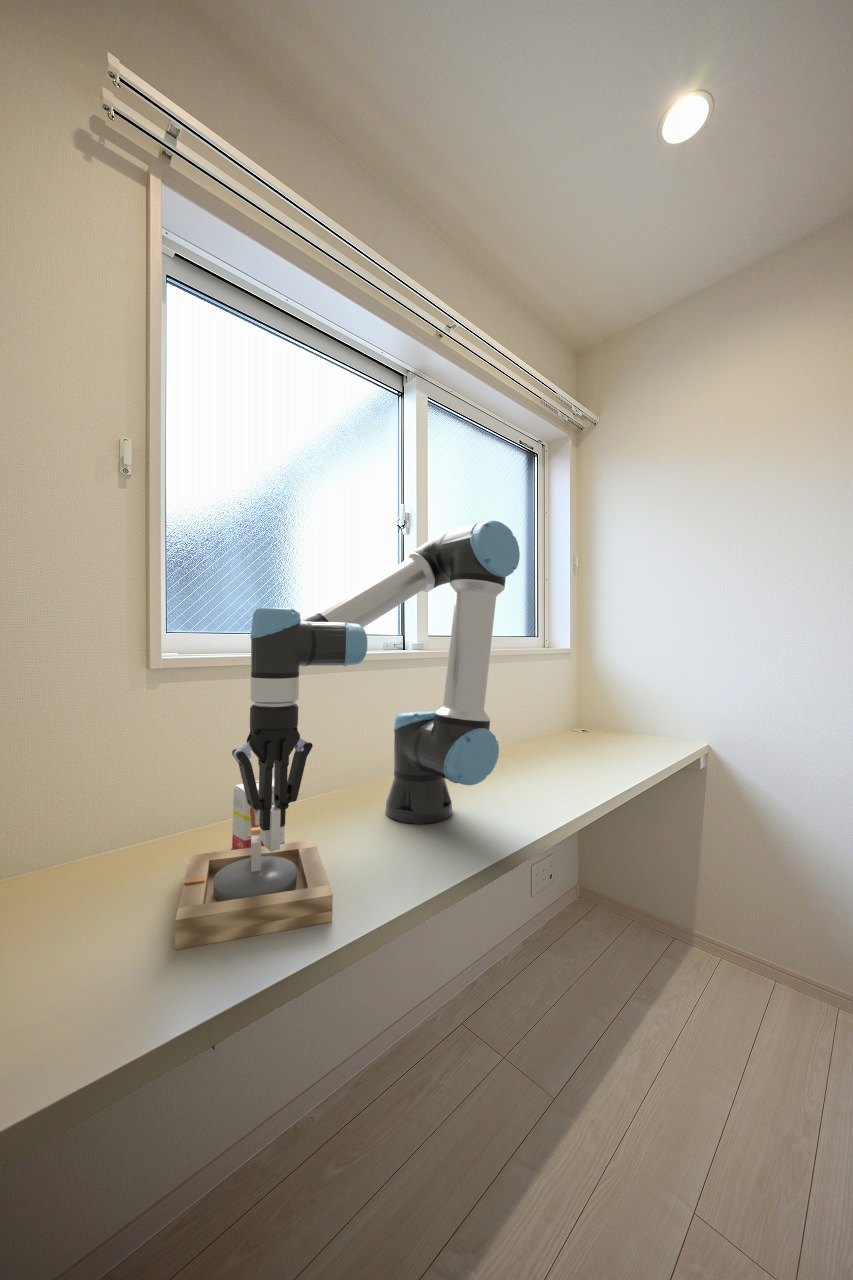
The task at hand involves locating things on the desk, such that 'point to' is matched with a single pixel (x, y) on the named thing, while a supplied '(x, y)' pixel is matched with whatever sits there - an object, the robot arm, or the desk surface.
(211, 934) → the wooden tray
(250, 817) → the ink box
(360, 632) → the robot arm
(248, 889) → the dial
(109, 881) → the desk surface
